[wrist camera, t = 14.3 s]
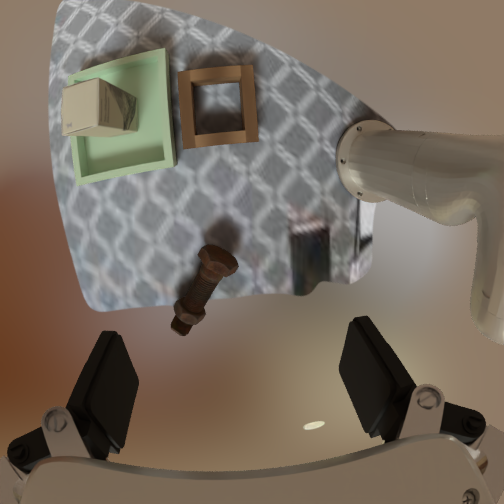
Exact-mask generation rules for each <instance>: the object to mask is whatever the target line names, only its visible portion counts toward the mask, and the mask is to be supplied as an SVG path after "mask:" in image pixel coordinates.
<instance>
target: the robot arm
mask: <svg viewBox="0 0 504 504" xmlns="http://www.w3.org/2000/svg"><path fill="white" fill-rule="evenodd" d="M357 128H358V130H357ZM341 159H342V162H341ZM336 168H337V172H338V175H339V179H340V180H341V182H342V184H343V186H344V187H345V188H346V190H347V191H348V192H349V193H350V194H352V195H353V196H354V197H356V198H358V199H360V200H362V201H365V202H370V203H377V202H381V201H385V200H389V201H391V202H394V203H396V204H398V205H400V206H403V207H405V208H407V209H409V210H412V211H414V212H416V213H418V214H420V215H422V216H424V217H427V218H429V219H431V220H433V221H435V222H437V223H439V224H442V225H446V226H457V225H461V224H464V223H466V222H469V221H470V220H472V219H474V218H475V217H476V218H477V223H478V236H477V243H478V244H477V254H476V262H475V270H474V277H473V284H472V289H471V297H470V311H471V316H472V319H473V322H474V324H475V326H476V327H477V329H478V330H479V331H480V332H481V333H482V334H483V335H484V336H486V337H487V338H489V339H490V340H492V341H494V342H497V343H499V344H503V345H504V135H463V134H452V133H438V132H423V131H401V130H394V129H393V128H392V127H390V126H389V125H388V124H386V123H383V122H381V121H377V120H365V121H360V122H358V123H355V124H354V125H352V126H351V127H349V128H348V129H347V130H346V131H345V132H344V134H343V136H342V137H341V139H340V141H339V144H338V146H337V151H336ZM357 193H358V194H357ZM339 373H340V375H341V378H342V380H343V382H344V384H345V387H346V389H347V391H348V394H349V396H350V398H351V401H352V403H353V406H354V408H355V410H356V413H357V415H358V417H359V420H360V422H361V424H362V427H363V429H364V431H365V433H369V435H370V437H371V438H373V437H376V436H379V435H381V437H382V440H383V442H382V445H379V446H375V447H372V448H369V449H365V450H362V451H358V452H355V453H350V454H346V455H343V456H339V457H334V458H330V459H326V460H321V461H316V462H311V463H305V464H300V465H293V466H286V467H279V468H270V469H260V470H248V471H224V472H201V471H200V472H199V471H178V470H165V469H155V468H147V467H140V466H132V465H126V464H119V463H114V462H110V461H109V460H108V458H107V457H108V454H109V452H110V453H116V454H119V452H120V448H123V447H124V445H125V440H126V435H127V431H128V427H129V422H130V418H131V413H132V410H133V405H134V402H135V397H136V394H137V390H138V386H139V380H138V376H137V374H136V372H135V369H134V367H133V365H132V362H131V360H130V357H129V355H128V352H127V350H126V347H125V345H124V342H123V339H122V337H121V335H118V333H117V332H116V331H102V333H101V334H100V336H99V338H98V340H97V342H96V344H95V346H94V348H93V350H92V352H91V354H90V356H89V358H88V361H87V362H86V363H85V365H84V367H83V370H82V372H81V374H80V376H79V378H78V380H77V383H76V385H75V387H74V389H73V392H72V394H71V396H70V398H69V401H68V403H67V406H66V408H64V407H61V406H56V407H52V408H50V409H48V410H47V411H46V412H45V413H44V415H43V416H42V420H41V427H40V428H37V429H35V430H34V431H31V432H29V433H27V434H25V435H23V436H21V437H19V438H17V439H15V440H13V441H12V442H11V443H10V444H9V447H8V450H7V454H8V456H7V457H5V456H3V457H2V458H1V459H0V504H497V502H498V500H499V498H500V496H501V494H502V492H503V490H504V433H503V432H502V431H500V430H498V429H497V428H495V427H493V426H492V425H489V426H486V422H485V418H484V417H483V415H482V414H481V413H479V412H477V411H475V410H472V409H468V408H465V407H461V406H458V405H454V404H451V403H448V402H445V398H444V395H443V393H442V391H441V390H440V389H439V388H437V387H436V386H433V385H430V384H423V385H420V386H418V387H417V386H416V384H415V383H414V381H413V380H412V378H411V377H410V375H409V373H408V372H407V370H406V369H405V367H404V366H403V364H402V363H401V361H400V360H399V358H398V357H397V355H396V354H395V353H394V351H393V349H392V348H391V346H390V345H389V344H388V343H387V342H386V341H385V339H384V338H383V336H382V335H381V334H380V332H379V331H378V329H377V328H376V326H375V325H374V324H373V322H372V321H371V319H370V318H369V317H368V316H361V317H355V318H354V319H353V321H352V322H350V323H349V327H348V331H347V335H346V340H345V344H344V348H343V352H342V356H341V360H340V364H339Z"/></svg>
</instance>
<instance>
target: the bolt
mask: <svg viewBox="0 0 504 504" xmlns="http://www.w3.org/2000/svg"><path fill="white" fill-rule="evenodd" d="M198 256H199V258H200V259H201V261H202V262H203V264H202V266H201V268H200V271H199V272H198V274H197V276H196V278H195V280H194V281H193V283H192V285H191V287H190V289H189V291H188V293H187V295H186V296H185V297H182V298H180V299H179V300H177V301H176V303H175V305H174V311H175V314H176V315H175V317H174V319H173V321H172V322H171V329H172V330H173V331H175V332H176V333H177V334H179V335H180V336H186V334H188V333H189V331H190V329H191V328H192V326H193V325H196V324H198V323H199V322H200V321H201V320H202V319H203V318H204V316H205V315H206V313H205V309H204V306H205V305H206V303H207V301H208V299H209V298H210V296H211V294H212V292H213V291H214V289H215V288H216V286H217V285H218V283H219V281H220V280H221V279H222V278H223V276H224V277H228V276H230V275H231V274H233V273H235V272H236V270H237V269H238V267H239V266H238V262H237V260H236V258H235V257H234V256H232V255H231V254H230V253H229V252H227V251H226V250H224V249H222V248H220V247H218V246H215V245H210V244H208V245H206V246H204V247H202V248H201V250H200V251H199V253H198Z"/></svg>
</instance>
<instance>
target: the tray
mask: <svg viewBox="0 0 504 504" xmlns="http://www.w3.org/2000/svg"><path fill="white" fill-rule="evenodd" d="M96 77H99V78H101V79H103V80H105V81H107V82H109V83H111V84H112V85H114V86H116V87H118V88H120V89H122V90H124V91H126V92H127V93H129V94H131V95H133V96H135V97H137V108H138V131H137V132H135V133H131V134H126V135H120V136H115V137H92V136H70V138H71V148H72V157H73V165H74V172H75V178H76V184H77V186H80V185H84V184H88V183H92V182H96V181H101V180H105V179H110V178H115V177H119V176H124V175H129V174H135V173H140V172H146V171H151V170H157V169H164V168H170V167H175V166H176V165H177V158H176V148H175V138H174V127H173V116H172V102H171V87H170V67H169V54H168V52H167V50H166V49H165V48H162V49H157V50H152V51H147V52H143V53H139V54H135V55H131V56H127V57H123V58H120V59H116V60H113V61H110V62H106V63H103V64H100V65H97V66H94V67H91V68H88V69H86V70H83V71H80V72H78V73H75V74H72V75H70V76H68V86H69V85H72V84H75V83H78V82H81V81H85V80H89V79H93V78H96Z"/></svg>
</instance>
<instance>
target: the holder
mask: <svg viewBox="0 0 504 504" xmlns="http://www.w3.org/2000/svg"><path fill="white" fill-rule="evenodd" d="M236 82H239V88H240V101H241V114H242V126H243V131H232V132H221V133H212V134H203V135H197V130H196V118H195V105H194V91H193V87H195V86H203V85H212V84H223V83H236ZM178 90H179V104H180V117H181V129H182V140H183V149H190V148H197V147H206V146H214V145H224V144H235V143H247V142H259V138H258V124H257V111H256V98H255V86H254V73H253V65H238V66H223V67H212V68H203V69H195V70H187V71H181V72H178Z"/></svg>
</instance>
